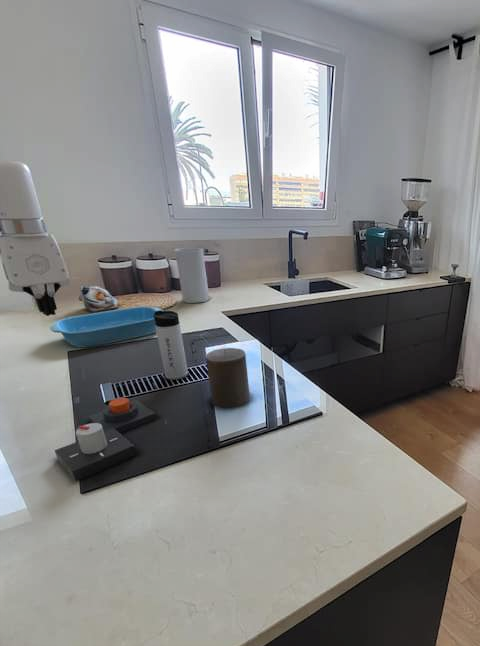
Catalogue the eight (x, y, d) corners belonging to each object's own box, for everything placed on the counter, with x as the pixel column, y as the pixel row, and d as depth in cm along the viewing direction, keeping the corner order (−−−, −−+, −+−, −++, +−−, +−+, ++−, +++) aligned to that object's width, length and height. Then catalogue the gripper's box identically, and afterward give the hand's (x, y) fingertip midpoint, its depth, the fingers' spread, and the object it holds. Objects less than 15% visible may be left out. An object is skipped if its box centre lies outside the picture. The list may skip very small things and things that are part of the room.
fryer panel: (76, 484, 74) (71, 470, 73) (58, 462, 80) (54, 449, 78) (136, 457, 82) (133, 444, 81) (116, 439, 87) (113, 427, 86)
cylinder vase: (213, 300, 200) (207, 250, 190) (189, 304, 191) (181, 252, 181) (202, 296, 208) (195, 247, 197) (178, 300, 199) (170, 249, 189)
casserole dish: (62, 355, 130) (55, 335, 127) (50, 338, 145) (44, 319, 142) (175, 332, 153) (172, 315, 151) (155, 319, 168) (152, 303, 165)
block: (107, 440, 87) (103, 425, 85) (90, 424, 93) (85, 409, 91) (157, 420, 95) (154, 406, 93) (138, 407, 101) (135, 393, 99)
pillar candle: (231, 414, 98) (224, 359, 92) (204, 404, 103) (195, 351, 97) (258, 398, 106) (253, 347, 100) (232, 390, 111) (226, 340, 104)
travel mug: (177, 371, 121) (166, 308, 113) (193, 375, 119) (182, 311, 111) (160, 378, 116) (147, 313, 108) (175, 383, 113) (163, 316, 105)
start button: (115, 415, 90) (113, 407, 89) (108, 409, 92) (105, 402, 91) (133, 409, 93) (131, 401, 92) (126, 403, 95) (124, 396, 94)
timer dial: (112, 442, 81) (106, 422, 79) (95, 455, 77) (89, 434, 75) (93, 440, 82) (87, 420, 80) (76, 452, 78) (69, 432, 76)
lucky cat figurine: (126, 305, 186) (120, 283, 176) (110, 321, 178) (102, 299, 168) (95, 295, 186) (87, 271, 175) (78, 311, 178) (68, 287, 167)
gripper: (-21, 231, 73) (11, 325, 80) (71, 227, 84) (93, 310, 91) (-30, 228, 77) (2, 317, 85) (59, 225, 88) (81, 305, 95)
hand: (49, 314), depth 88 cm, fingers closed
